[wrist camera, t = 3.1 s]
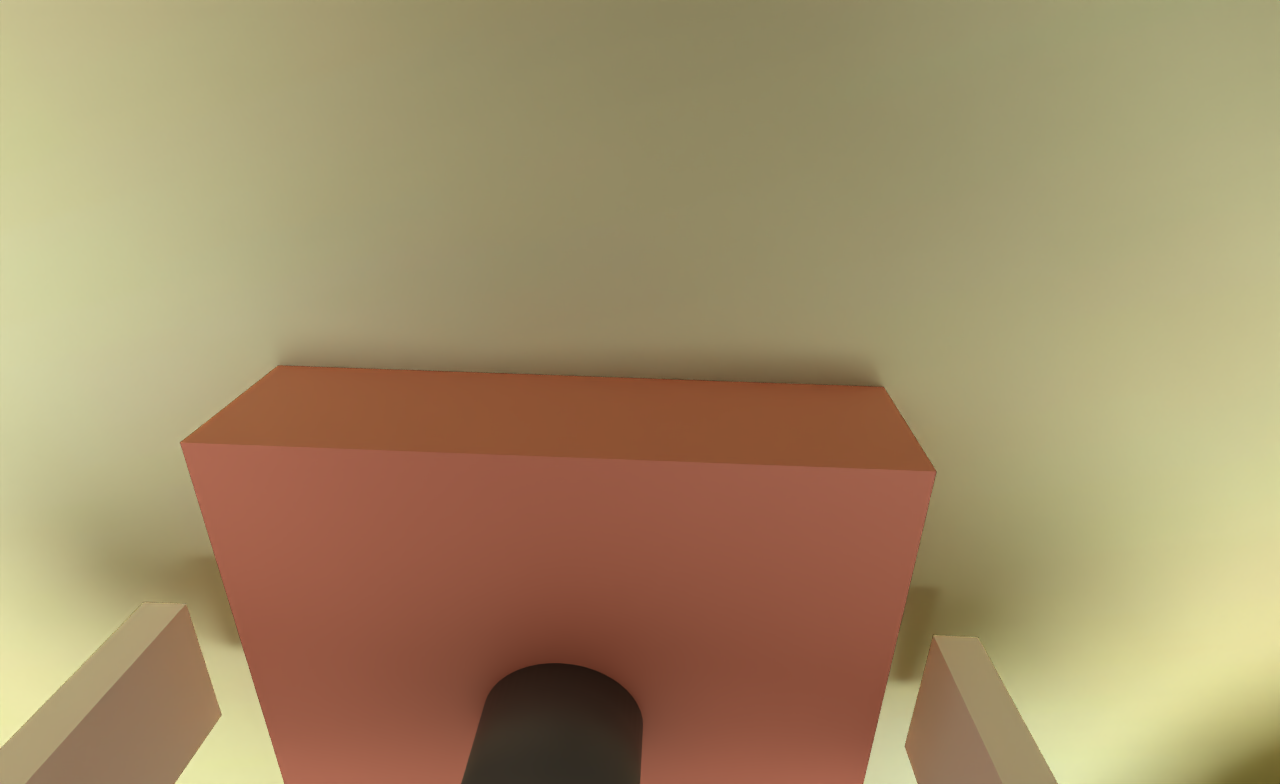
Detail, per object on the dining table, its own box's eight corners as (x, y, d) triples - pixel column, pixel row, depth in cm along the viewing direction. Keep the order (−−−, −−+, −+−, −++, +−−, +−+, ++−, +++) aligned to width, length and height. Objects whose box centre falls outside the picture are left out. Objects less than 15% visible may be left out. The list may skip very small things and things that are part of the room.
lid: (290, 355, 12) (90, 512, 8) (876, 375, 12) (986, 550, 8) (375, 750, 16) (273, 984, 12) (805, 773, 16) (850, 1021, 12)
